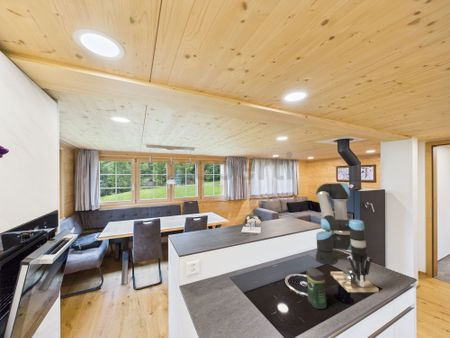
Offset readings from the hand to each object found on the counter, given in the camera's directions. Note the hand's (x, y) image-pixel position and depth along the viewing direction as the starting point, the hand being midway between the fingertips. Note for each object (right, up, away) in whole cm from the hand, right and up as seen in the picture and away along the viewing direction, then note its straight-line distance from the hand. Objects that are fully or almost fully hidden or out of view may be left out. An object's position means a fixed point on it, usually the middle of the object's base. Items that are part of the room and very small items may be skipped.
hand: (361, 285), depth 109 cm
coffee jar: (-31, -6, -8) cm, 32 cm away
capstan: (0, -3, +8) cm, 8 cm away
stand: (+2, -5, +11) cm, 12 cm away
